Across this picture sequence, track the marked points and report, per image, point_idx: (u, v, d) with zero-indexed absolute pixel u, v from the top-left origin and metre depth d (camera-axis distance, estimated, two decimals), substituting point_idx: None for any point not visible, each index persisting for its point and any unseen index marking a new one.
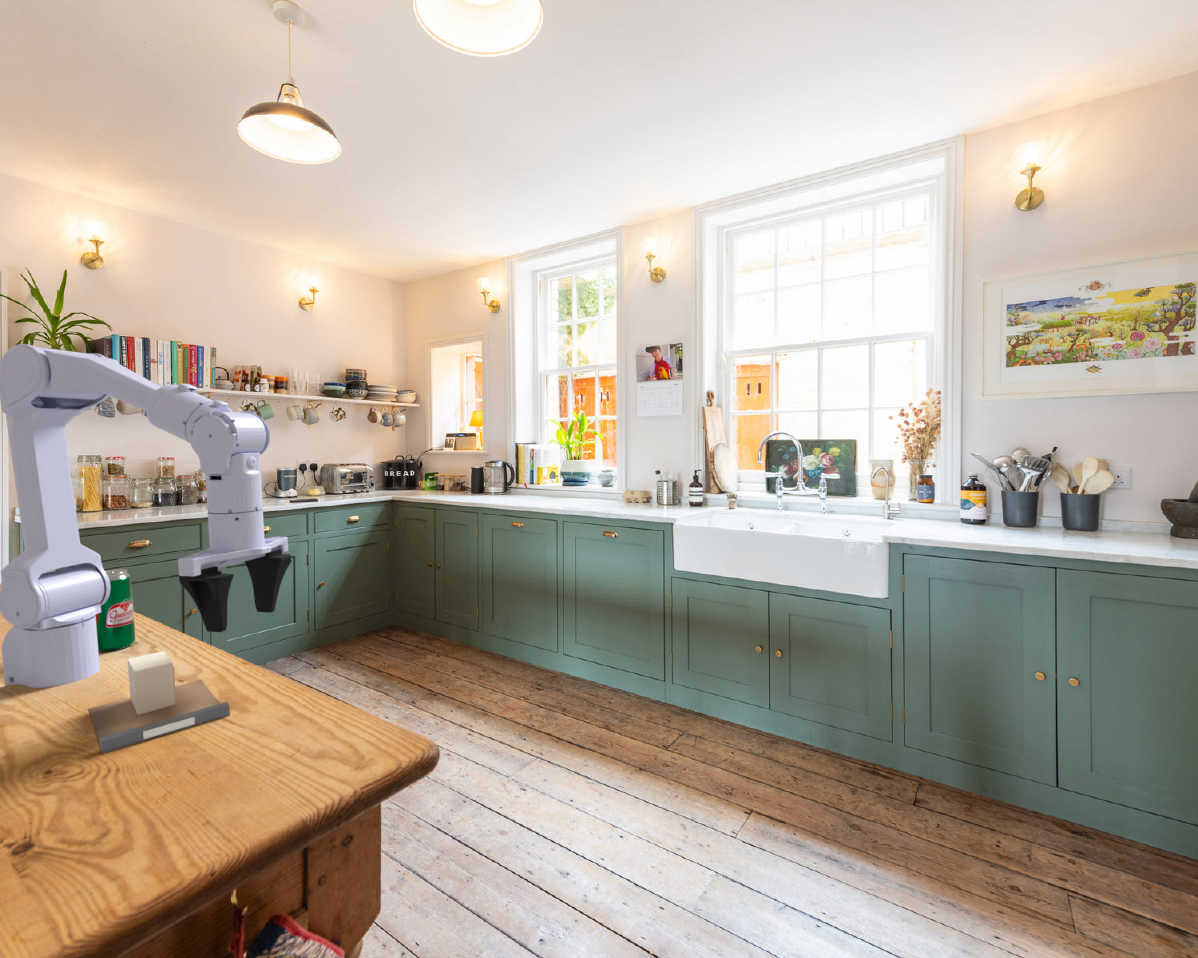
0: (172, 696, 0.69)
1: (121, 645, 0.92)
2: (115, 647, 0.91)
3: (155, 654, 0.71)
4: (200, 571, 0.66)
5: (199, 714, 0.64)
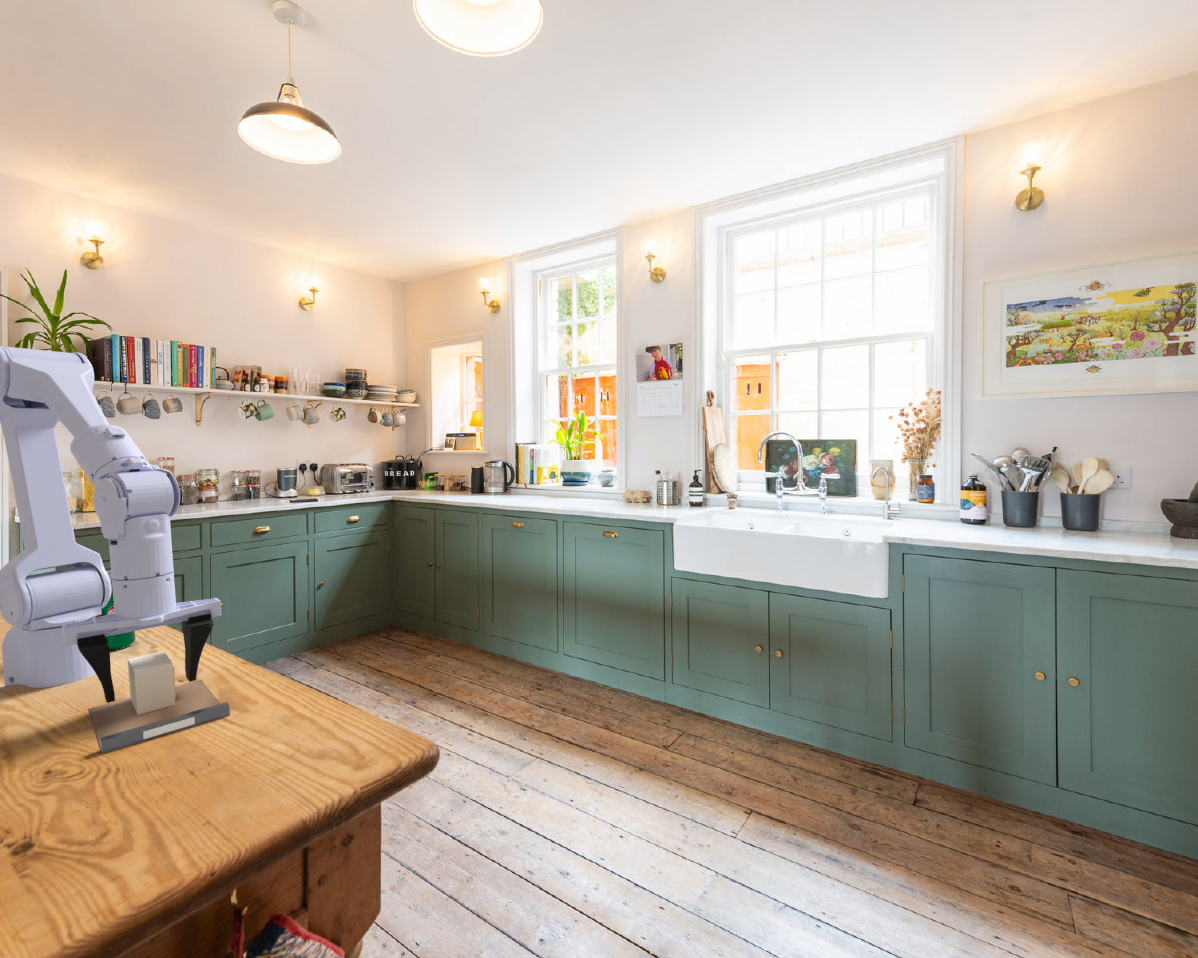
0: (172, 696, 0.69)
1: (121, 645, 0.92)
2: (115, 647, 0.91)
3: (155, 654, 0.71)
4: (75, 640, 0.64)
5: (199, 714, 0.64)
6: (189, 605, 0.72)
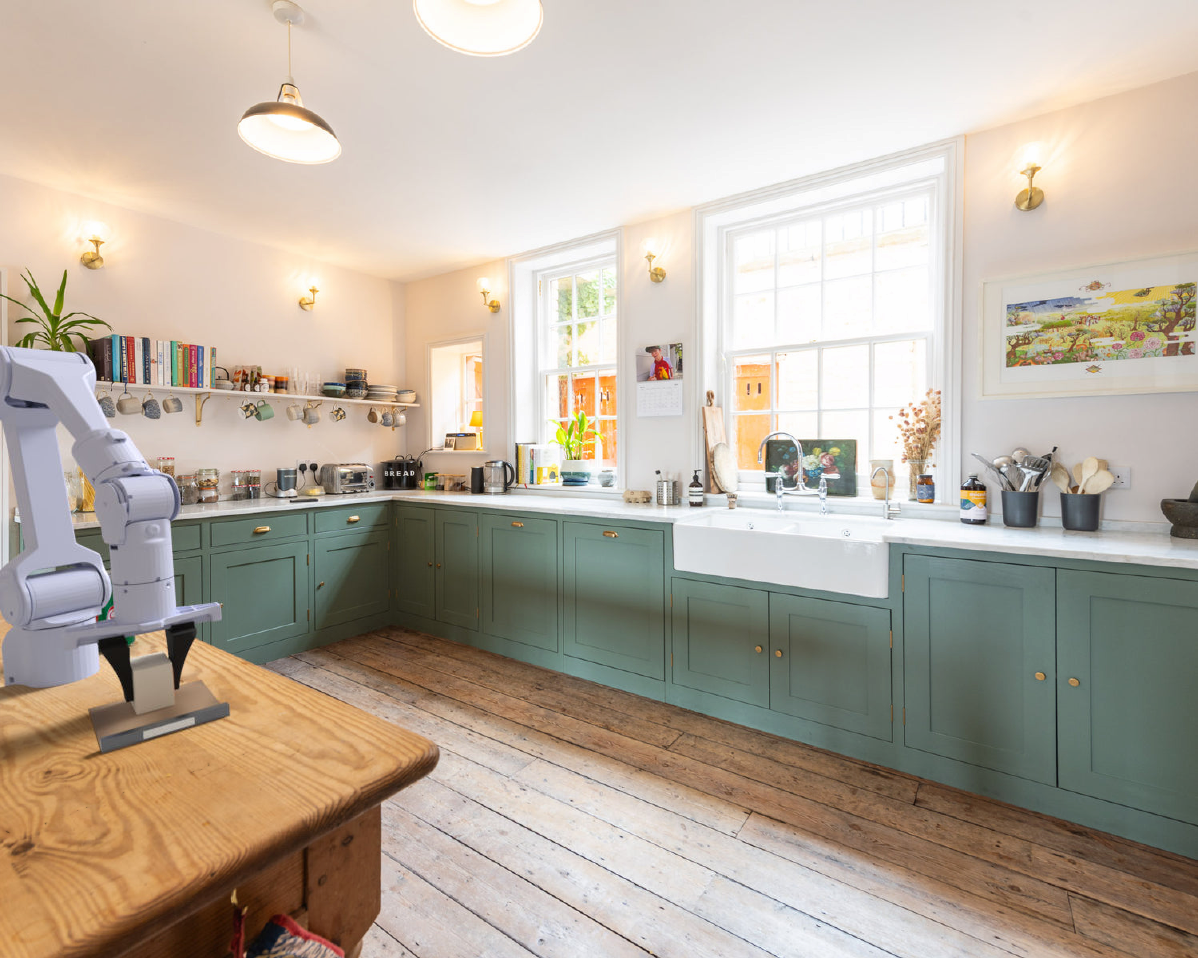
0: (171, 696, 0.69)
1: None
2: None
3: (154, 654, 0.71)
4: (76, 645, 0.64)
5: (199, 714, 0.64)
6: (189, 609, 0.72)
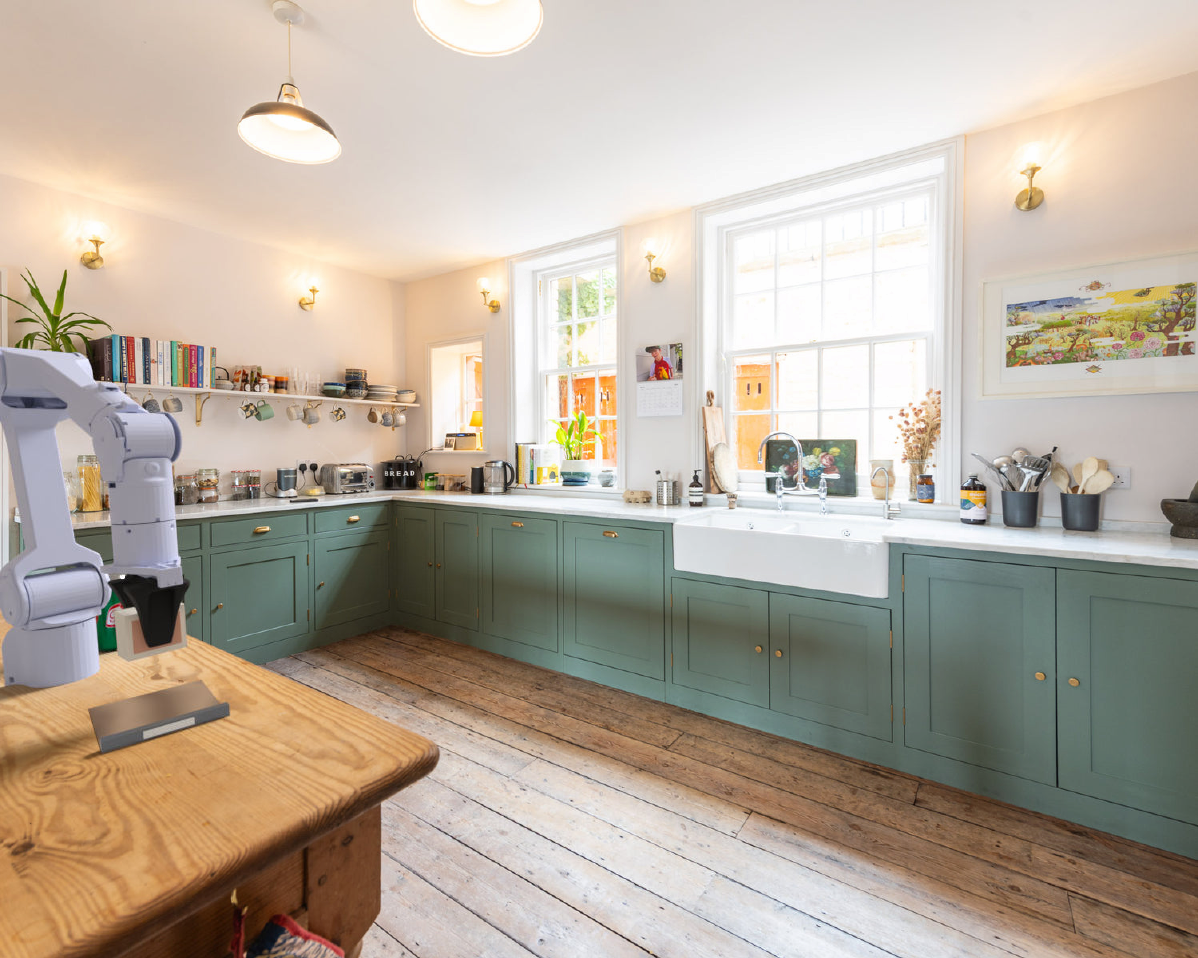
0: (126, 651, 0.63)
1: None
2: (115, 647, 0.91)
3: None
4: None
5: (199, 714, 0.64)
6: None
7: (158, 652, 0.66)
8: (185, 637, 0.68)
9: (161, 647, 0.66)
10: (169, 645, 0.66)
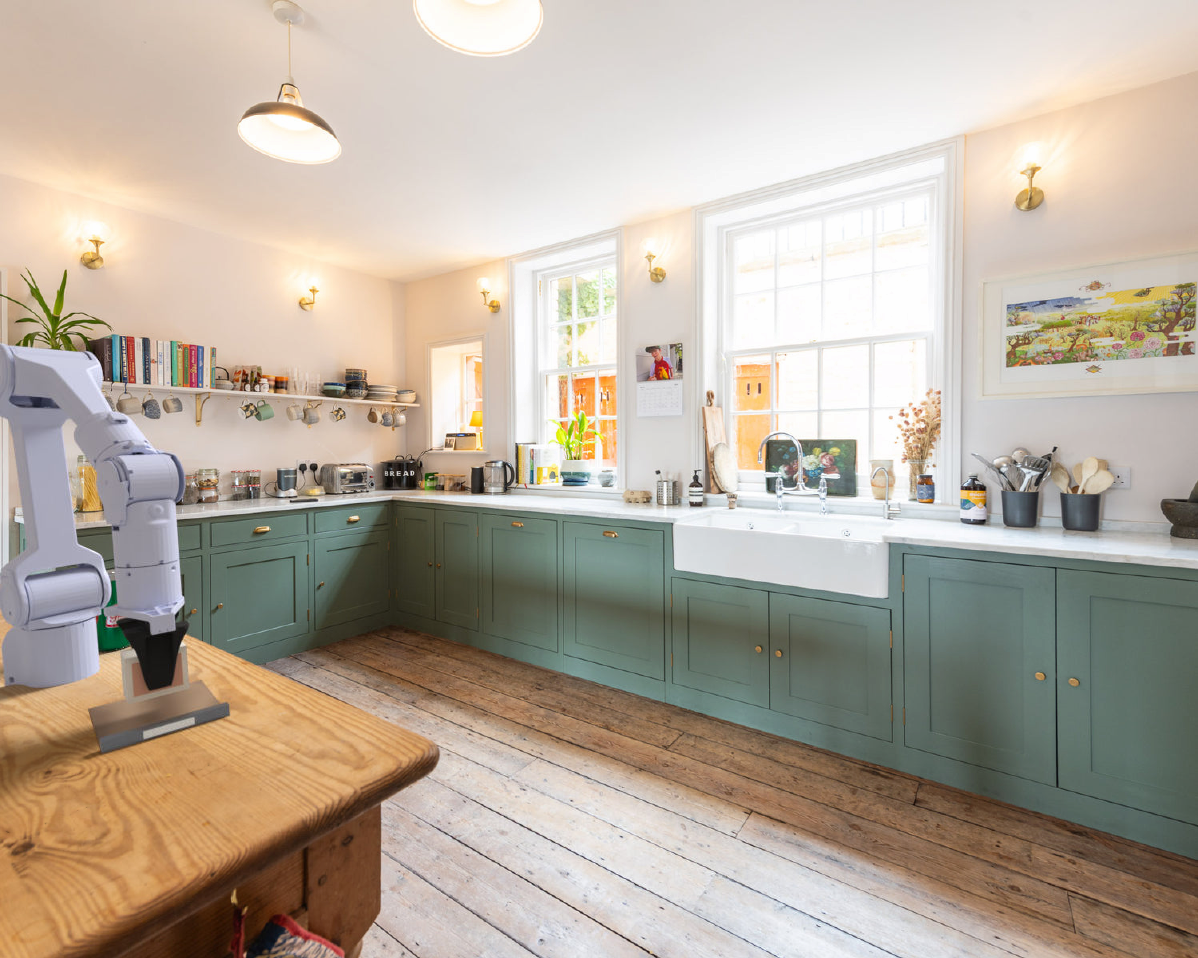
0: (127, 694, 0.63)
1: (121, 645, 0.92)
2: (115, 647, 0.91)
3: None
4: None
5: (199, 714, 0.64)
6: (155, 610, 0.63)
7: (159, 694, 0.65)
8: (187, 679, 0.67)
9: (162, 689, 0.65)
10: (170, 687, 0.66)
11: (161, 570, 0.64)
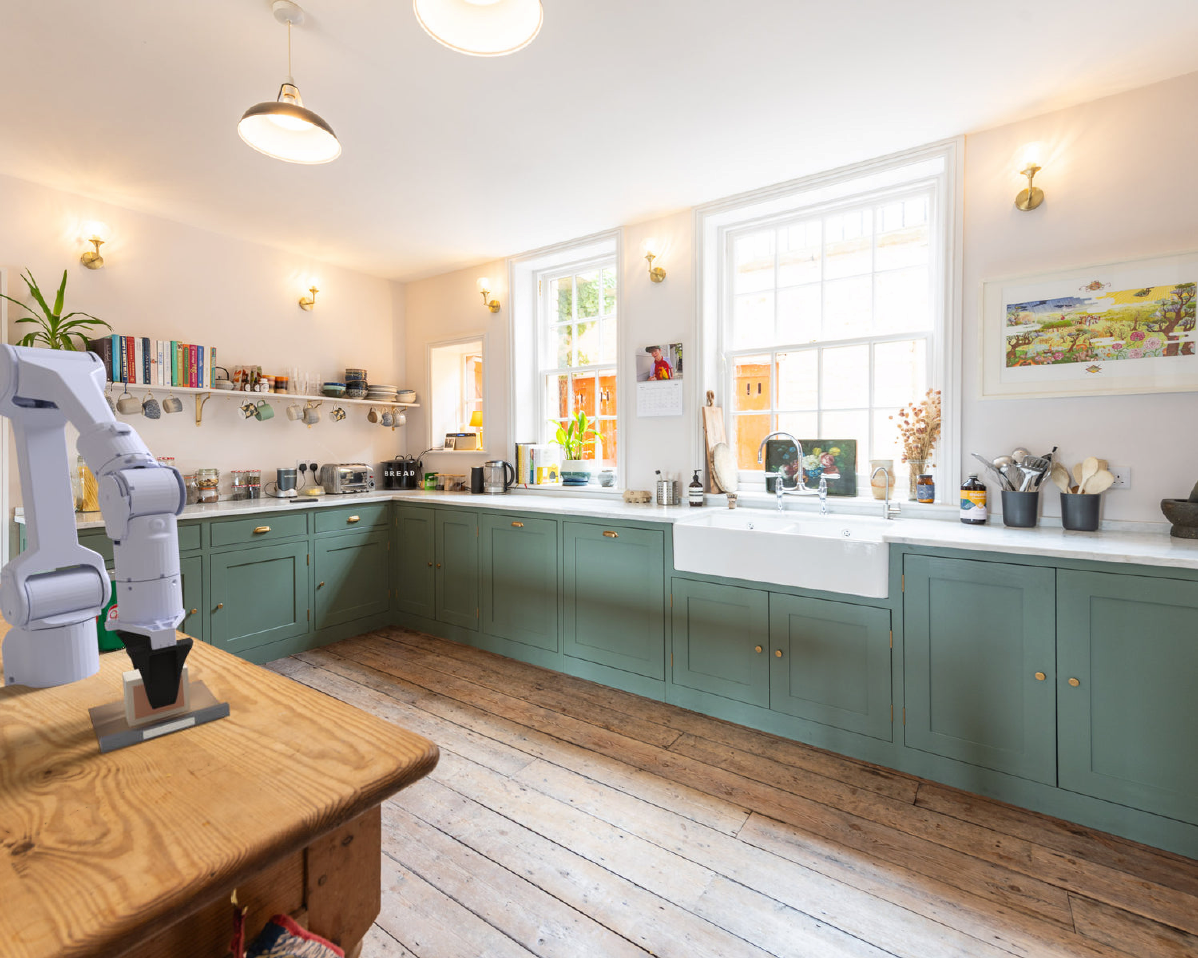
0: (128, 716, 0.64)
1: (121, 645, 0.92)
2: (115, 647, 0.91)
3: None
4: None
5: (199, 714, 0.64)
6: (156, 624, 0.63)
7: (160, 716, 0.65)
8: (188, 700, 0.67)
9: (163, 711, 0.66)
10: (171, 709, 0.66)
11: (162, 584, 0.64)
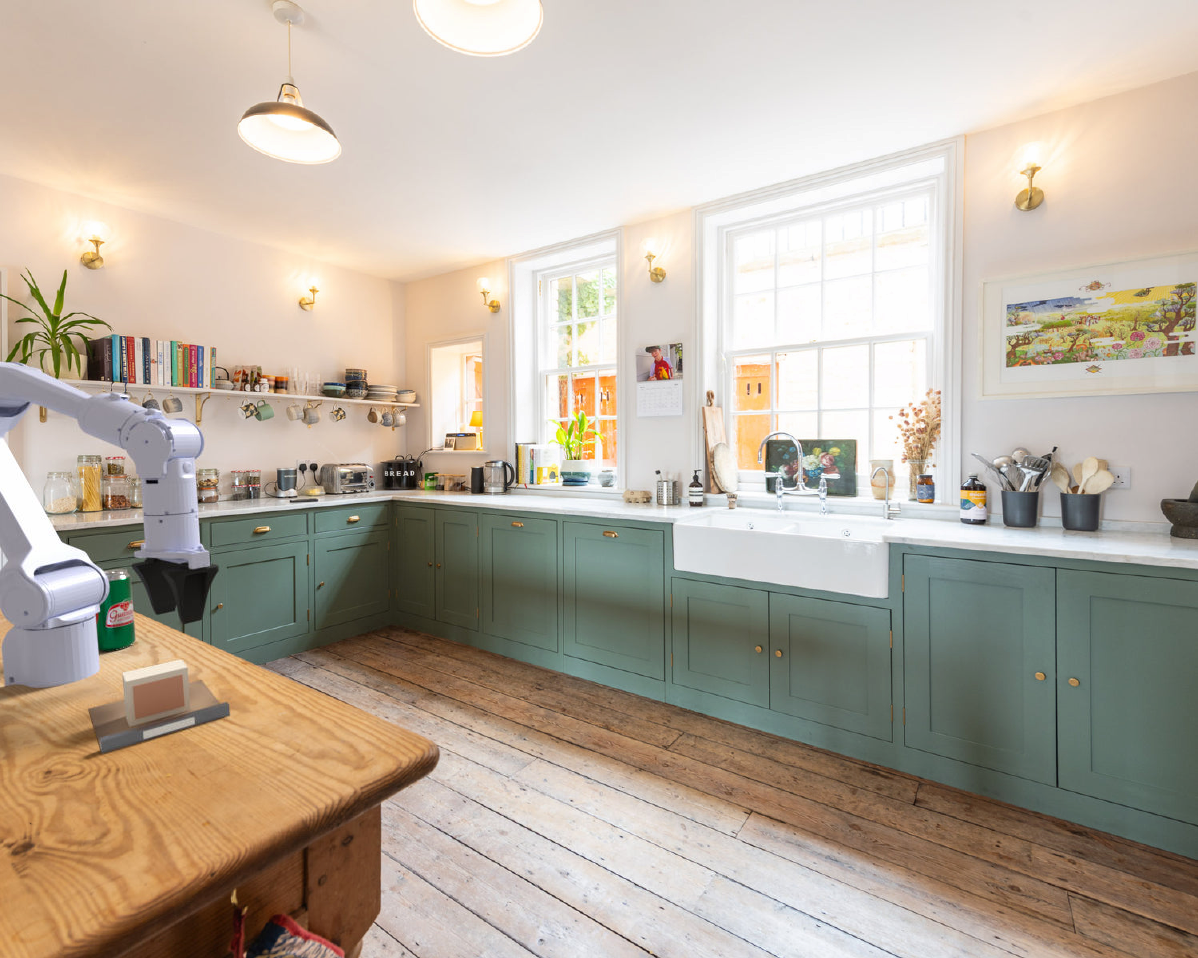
0: (128, 716, 0.64)
1: (121, 645, 0.92)
2: (115, 647, 0.91)
3: (179, 666, 0.67)
4: None
5: (199, 714, 0.64)
6: (187, 551, 0.74)
7: (160, 716, 0.65)
8: (188, 700, 0.67)
9: (163, 711, 0.66)
10: (171, 709, 0.66)
11: (188, 518, 0.75)
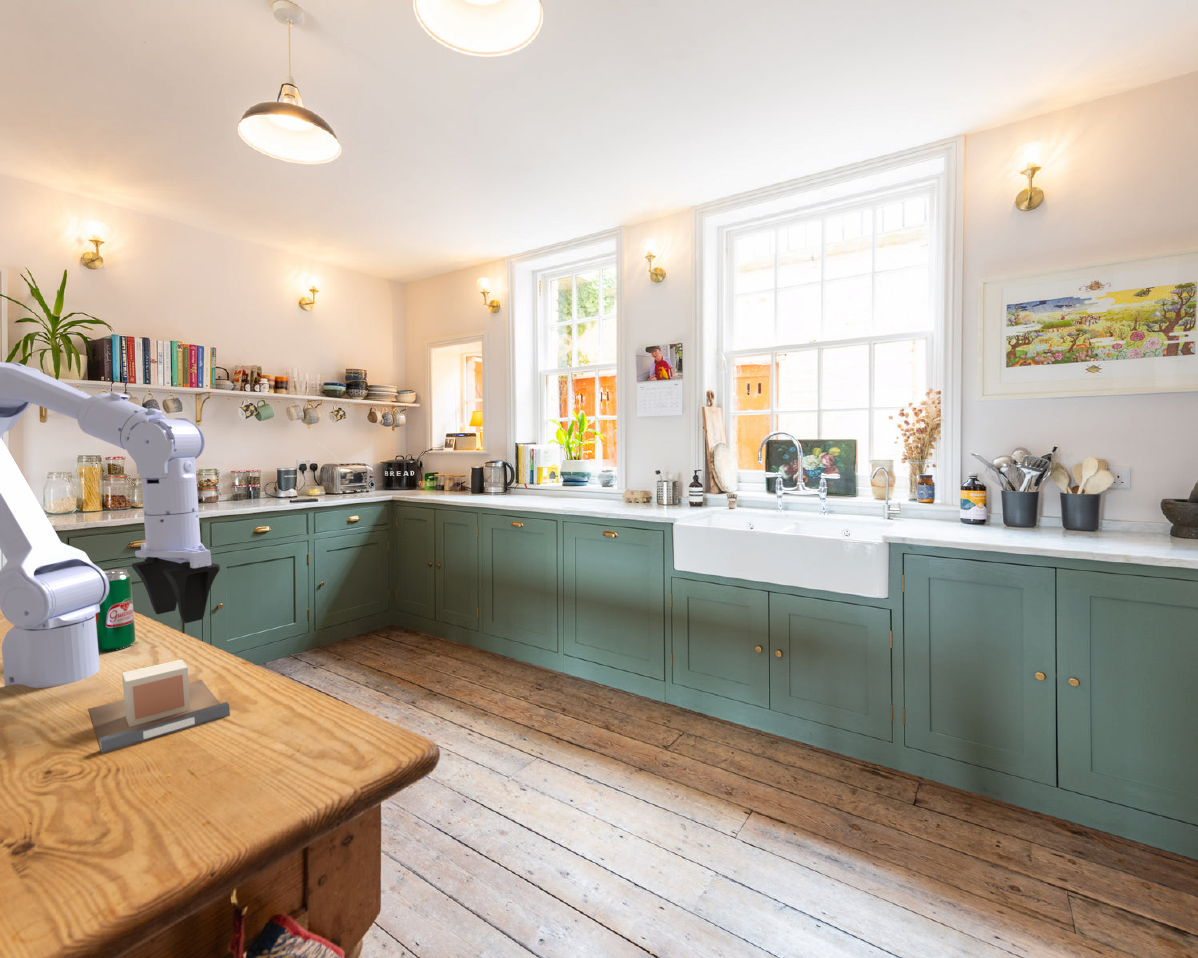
0: (128, 716, 0.64)
1: (121, 645, 0.92)
2: (115, 647, 0.91)
3: (179, 666, 0.67)
4: None
5: (199, 714, 0.64)
6: None
7: (160, 716, 0.65)
8: (188, 700, 0.67)
9: (163, 711, 0.66)
10: (171, 709, 0.66)
11: (189, 517, 0.75)
